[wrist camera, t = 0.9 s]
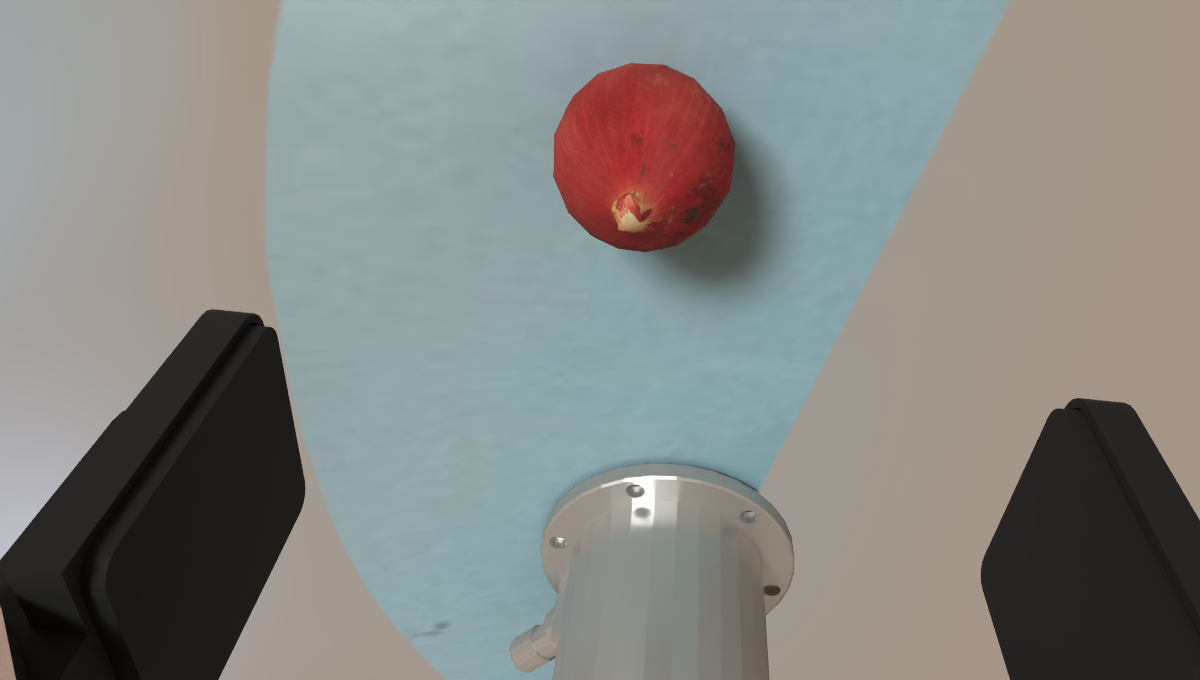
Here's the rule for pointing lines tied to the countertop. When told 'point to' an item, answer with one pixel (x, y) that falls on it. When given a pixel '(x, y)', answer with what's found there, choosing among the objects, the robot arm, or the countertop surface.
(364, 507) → the countertop surface
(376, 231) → the countertop surface
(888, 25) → the countertop surface
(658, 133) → the onion
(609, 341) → the countertop surface
